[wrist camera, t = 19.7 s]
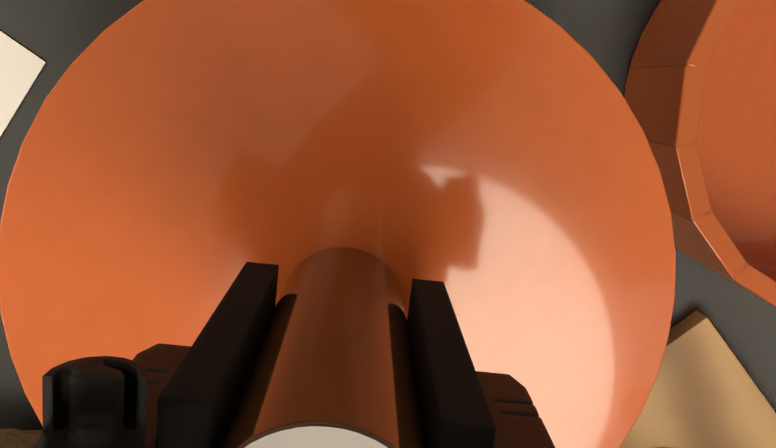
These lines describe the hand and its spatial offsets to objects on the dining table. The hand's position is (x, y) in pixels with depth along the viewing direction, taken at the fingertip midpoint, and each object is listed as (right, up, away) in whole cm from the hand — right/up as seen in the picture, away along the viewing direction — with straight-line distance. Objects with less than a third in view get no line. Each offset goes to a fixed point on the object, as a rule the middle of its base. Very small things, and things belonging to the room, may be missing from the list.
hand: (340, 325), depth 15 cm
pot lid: (0, 0, +2) cm, 2 cm away
